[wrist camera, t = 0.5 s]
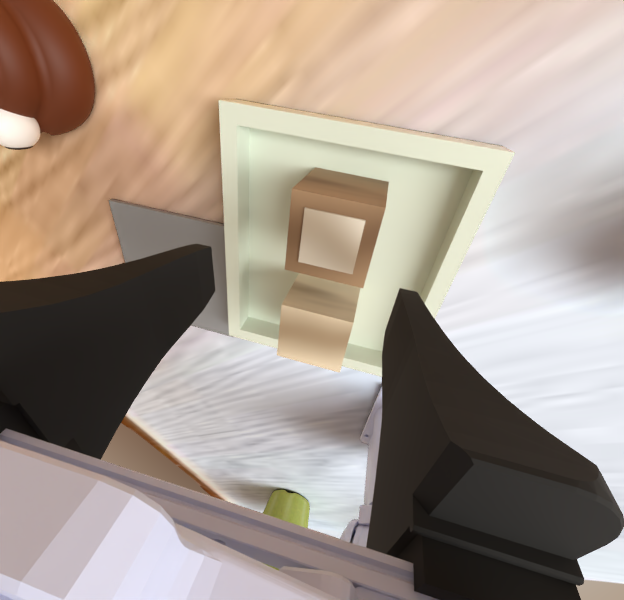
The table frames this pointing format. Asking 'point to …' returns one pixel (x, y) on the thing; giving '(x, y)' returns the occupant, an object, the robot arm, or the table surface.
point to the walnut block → (334, 225)
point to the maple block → (317, 321)
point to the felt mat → (169, 235)
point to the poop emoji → (41, 73)
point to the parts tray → (395, 224)
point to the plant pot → (288, 508)
